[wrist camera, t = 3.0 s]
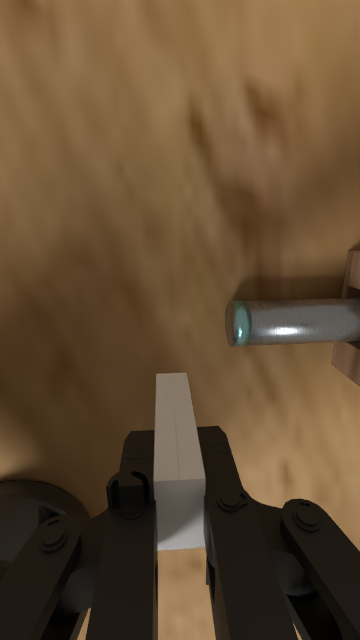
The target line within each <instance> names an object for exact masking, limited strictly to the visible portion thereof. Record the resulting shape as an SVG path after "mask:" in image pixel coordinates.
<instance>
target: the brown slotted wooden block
mask: <svg viewBox="0 0 360 640" xmlns="http://www.w3.org/2000/svg"><path fill="white" fill-rule="evenodd" d="M341 298H360V250H348V257H347V263H346V270H345V277H344V284H343V290H342V297H341ZM332 365H333V366H334V367H335V368H337V369H338V370H339V371H341V372H342V373H343V374H344V375H346V376H347V377H348V378H349V379H351V380H352V381H353V382H355V383H356V384H357V385H358V386H360V341H347V342H335V345H334V351H333V358H332Z"/></svg>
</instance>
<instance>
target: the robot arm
mask: <svg viewBox="0 0 360 640" xmlns="http://www.w3.org/2000/svg"><path fill="white" fill-rule="evenodd" d="M106 490H107V499H108V508H107V509H106V510H105V511H104V512H102V513H101V514H100V515H98V516H96V517H93V518H91V519H89V517H88V514H87V512H86V511H85V509H84V508H83V506H82V505H81V504H80V503H79V502H78V501H77V500H76V499H75V498H74V497H73V496H71V495H70V494H68V493H67V492H65V491H63V490H61V489H59V488H57V487H55V486H52V485H49V484H46V483H42V482H37V481H29V480H14V481H6V482H1V483H0V640H77V638H78V635H79V632H80V630H81V627H82V625H83V622H84V619H85V617H86V614H87V611H88V608H91V612H90V617H89V623H88V629H87V634H86V640H158V560H157V553H158V551H159V550H173V549H186V548H200V547H205V546H206V553H207V560H206V585H209V591H210V598H211V606H212V613H213V621H214V628H215V636H216V640H298V637H297V634H296V631H295V628H294V625H295V627H296V629H297V631H298V632H299V634H300V636H301V638H302V640H360V551H359V550H358V549H357V548H356V547H355V546H354V544H353V543H352V542H351V541H350V540H349V538H348V537H347V536H346V535H345V534H344V533H343V531H342V530H341V529H340V528H339V527H338V526H337V524H336V523H335V522H334V521H333V520H332V519H331V517H330V516H329V515H328V514H327V513H326V512H325V511H324V510H323V509H322V508H321V507H320V506H319V505H317V504H315V503H313V502H311V501H309V500H304V499H291V500H290V501H288V502H286V503H285V504H284V506H283V508H282V509H281V508H277V507H273V506H268V505H265V504H262V503H259V502H258V501H256V500H254V499H253V498H251V497H250V496H249V494H248V493H247V492H246V491H245V490H244V488H243V486H242V484H241V481H240V478H239V474H238V471H237V468H236V465H235V462H234V458H233V455H232V453H231V449H230V446H229V443H228V439H227V436H226V434H225V433H224V432H223V431H222V430H221V428H220V427H219V426H208V427H196V422H195V417H194V411H193V406H192V400H191V394H190V389H189V383H188V378H187V373H165V374H156V406H155V430H147V431H131V432H130V434H129V435H128V436H127V438H126V439H125V440H124V446H123V453H122V458H121V464H120V470H119V472H118V473H116V474H115V475H114V476H113V477H112V478H111V479H110V480H109V482H108V484H107V487H106ZM292 621H293V622H292ZM293 623H294V625H293Z"/></svg>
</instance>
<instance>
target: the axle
mask: <svg viewBox="0 0 360 640" xmlns="http://www.w3.org/2000/svg"><path fill="white" fill-rule="evenodd" d="M225 328H226V336H227V340H228V343H229V345H230V346H232V347H237V346H248V345H273V344H298V343H322V342H347V341H360V298H328V299H296V300H263V301H230V302H228V304H227V307H226V313H225Z"/></svg>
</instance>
